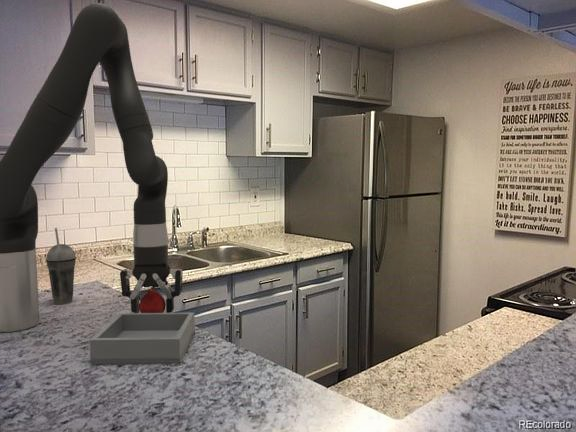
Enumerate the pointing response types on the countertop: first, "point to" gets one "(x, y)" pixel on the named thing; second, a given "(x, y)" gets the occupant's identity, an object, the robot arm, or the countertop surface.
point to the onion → (152, 302)
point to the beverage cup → (61, 272)
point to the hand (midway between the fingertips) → (152, 313)
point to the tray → (143, 338)
